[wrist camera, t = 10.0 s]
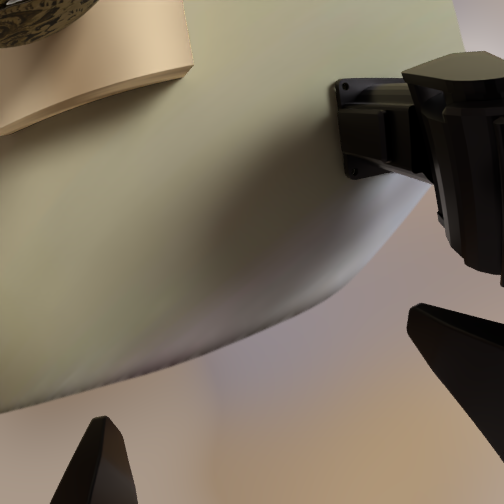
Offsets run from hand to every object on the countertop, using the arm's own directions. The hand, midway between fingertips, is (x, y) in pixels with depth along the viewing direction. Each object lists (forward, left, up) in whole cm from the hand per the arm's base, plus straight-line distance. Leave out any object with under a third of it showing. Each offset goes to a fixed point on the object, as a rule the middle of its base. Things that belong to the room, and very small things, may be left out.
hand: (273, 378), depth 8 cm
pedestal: (+4, -14, -12) cm, 18 cm away
